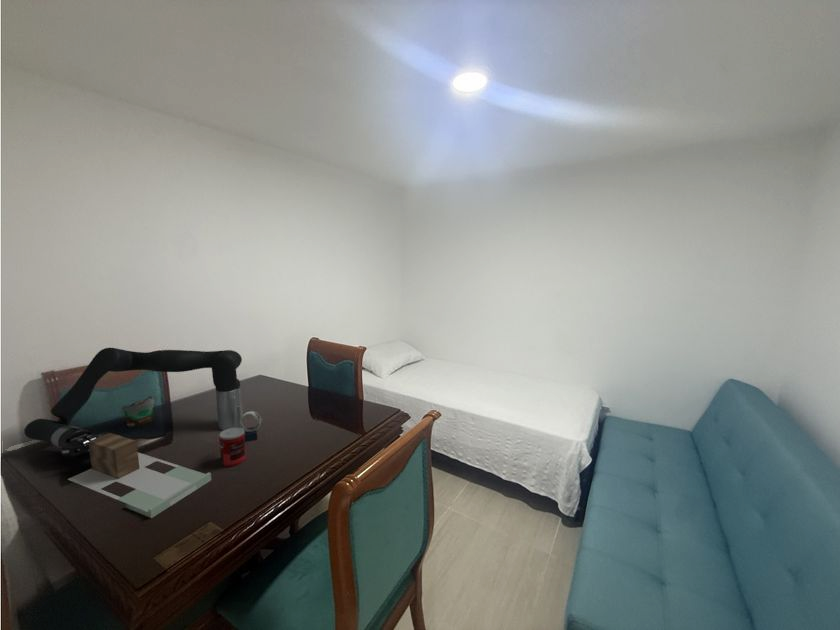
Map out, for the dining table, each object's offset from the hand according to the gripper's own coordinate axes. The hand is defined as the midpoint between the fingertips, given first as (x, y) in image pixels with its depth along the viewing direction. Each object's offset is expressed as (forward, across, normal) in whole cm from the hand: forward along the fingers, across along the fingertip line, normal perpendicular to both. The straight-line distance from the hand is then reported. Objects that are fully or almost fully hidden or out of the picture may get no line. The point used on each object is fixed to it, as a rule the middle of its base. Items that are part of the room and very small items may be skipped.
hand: (101, 448), depth 113 cm
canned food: (+37, +20, +8) cm, 43 cm away
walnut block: (+7, 0, +6) cm, 9 cm away
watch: (+30, +34, +8) cm, 46 cm away
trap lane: (+20, 0, +8) cm, 21 cm away
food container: (-24, +26, +8) cm, 36 cm away
